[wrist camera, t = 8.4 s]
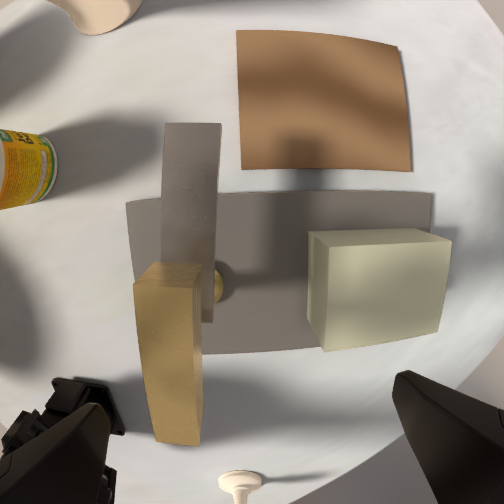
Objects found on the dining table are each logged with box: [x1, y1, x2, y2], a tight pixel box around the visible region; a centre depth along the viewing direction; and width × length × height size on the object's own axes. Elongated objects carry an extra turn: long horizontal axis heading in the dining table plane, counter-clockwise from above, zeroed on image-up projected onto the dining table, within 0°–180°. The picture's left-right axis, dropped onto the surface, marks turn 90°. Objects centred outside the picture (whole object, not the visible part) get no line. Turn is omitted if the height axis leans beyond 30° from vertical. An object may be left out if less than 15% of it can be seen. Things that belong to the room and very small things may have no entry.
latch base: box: [126, 191, 431, 355], centre depth 20 cm, size 11×21×1 cm, turn 92°
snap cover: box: [307, 228, 452, 352], centre depth 17 cm, size 6×8×4 cm
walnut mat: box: [236, 30, 411, 172], centre depth 18 cm, size 10×12×1 cm
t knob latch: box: [133, 123, 224, 446], centre depth 13 cm, size 3×12×10 cm, turn 177°
